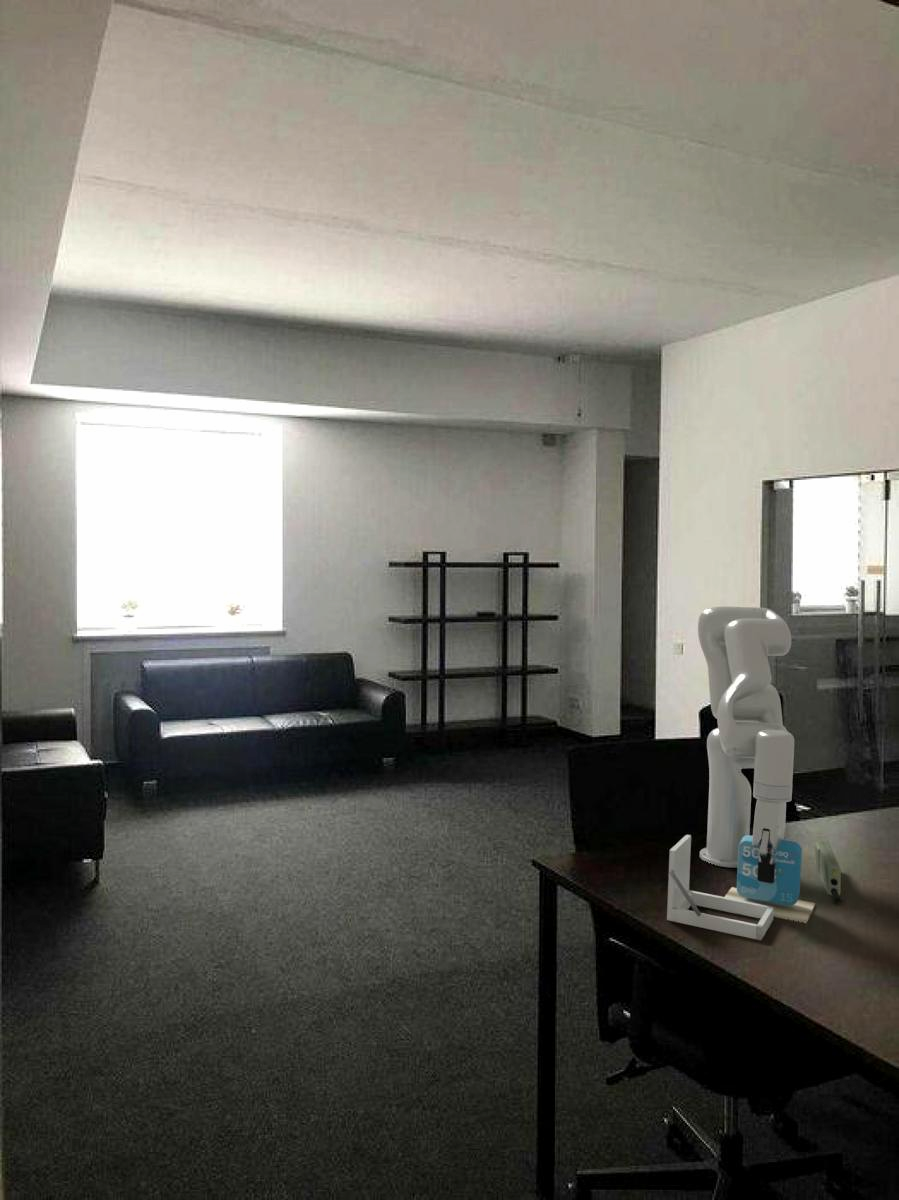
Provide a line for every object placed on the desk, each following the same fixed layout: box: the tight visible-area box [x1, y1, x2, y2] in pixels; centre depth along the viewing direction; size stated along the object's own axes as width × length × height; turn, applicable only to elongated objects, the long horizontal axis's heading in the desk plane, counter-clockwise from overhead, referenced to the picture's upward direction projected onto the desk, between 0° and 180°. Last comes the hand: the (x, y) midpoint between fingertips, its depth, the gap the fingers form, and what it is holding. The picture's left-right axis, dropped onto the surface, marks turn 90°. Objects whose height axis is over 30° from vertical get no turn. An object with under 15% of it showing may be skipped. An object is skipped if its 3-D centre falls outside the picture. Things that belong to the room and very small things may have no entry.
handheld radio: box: [814, 839, 842, 904], centre depth 211 cm, size 7×3×25 cm
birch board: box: [724, 886, 816, 924], centre depth 198 cm, size 11×17×1 cm, turn 61°
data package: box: [736, 834, 803, 905], centre depth 198 cm, size 12×4×12 cm, turn 66°
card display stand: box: [666, 834, 774, 941], centre depth 189 cm, size 13×18×14 cm
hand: (768, 876), depth 198 cm, fingers closed on data package, 4 cm apart
